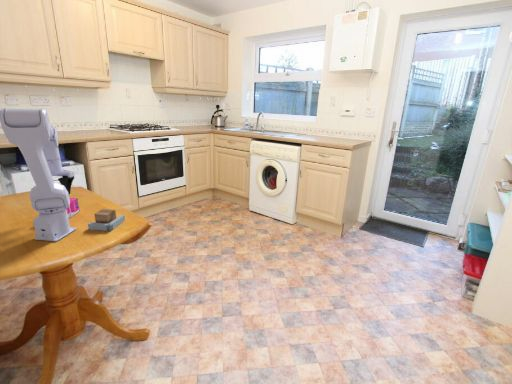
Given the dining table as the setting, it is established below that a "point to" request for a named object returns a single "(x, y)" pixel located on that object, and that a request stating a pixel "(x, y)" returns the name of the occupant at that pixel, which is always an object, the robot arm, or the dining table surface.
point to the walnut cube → (105, 216)
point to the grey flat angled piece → (106, 224)
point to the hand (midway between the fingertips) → (58, 194)
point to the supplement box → (73, 207)
